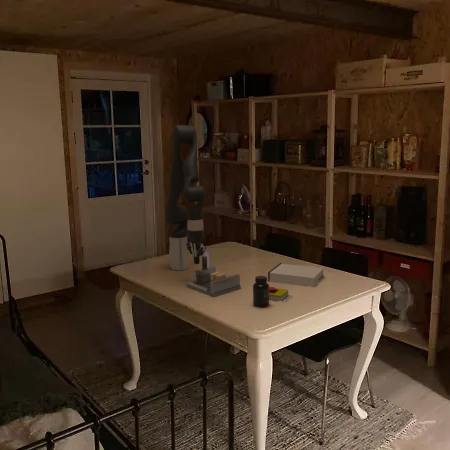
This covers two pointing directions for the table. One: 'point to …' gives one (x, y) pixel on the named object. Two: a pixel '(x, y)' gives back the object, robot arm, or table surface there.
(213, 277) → the maple block
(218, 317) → the table surface
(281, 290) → the emergency button
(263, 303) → the supplement bottle
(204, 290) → the press
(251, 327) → the table surface
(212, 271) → the jaw
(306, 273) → the disc drive
